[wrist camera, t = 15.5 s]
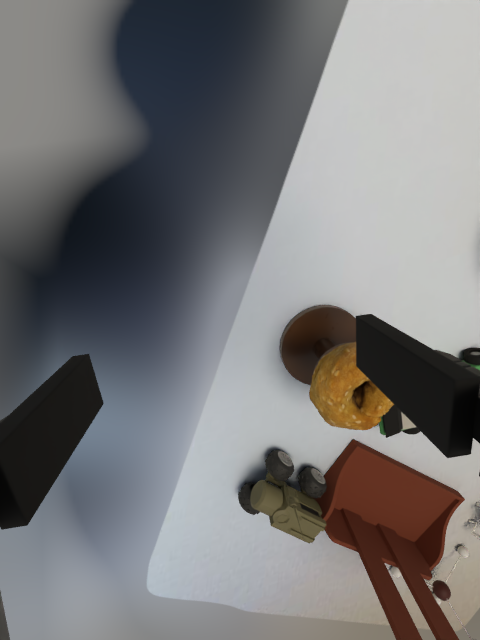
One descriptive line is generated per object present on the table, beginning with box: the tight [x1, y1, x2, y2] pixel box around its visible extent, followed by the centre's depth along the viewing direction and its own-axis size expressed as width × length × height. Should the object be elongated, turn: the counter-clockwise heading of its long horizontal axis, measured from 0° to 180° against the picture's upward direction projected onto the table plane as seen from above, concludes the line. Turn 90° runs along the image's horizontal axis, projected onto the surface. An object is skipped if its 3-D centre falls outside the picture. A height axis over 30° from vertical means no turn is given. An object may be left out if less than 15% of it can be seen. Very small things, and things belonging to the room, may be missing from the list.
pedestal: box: [280, 305, 356, 394], centre depth 40 cm, size 12×12×10 cm
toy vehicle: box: [238, 450, 327, 543], centre depth 46 cm, size 10×11×12 cm
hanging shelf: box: [308, 439, 465, 640], centre depth 40 cm, size 24×13×30 cm, turn 59°
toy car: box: [379, 348, 480, 438], centre depth 46 cm, size 10×19×5 cm, turn 104°
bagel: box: [309, 342, 394, 430], centre depth 33 cm, size 10×11×5 cm
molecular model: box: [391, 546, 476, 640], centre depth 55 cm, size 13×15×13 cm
